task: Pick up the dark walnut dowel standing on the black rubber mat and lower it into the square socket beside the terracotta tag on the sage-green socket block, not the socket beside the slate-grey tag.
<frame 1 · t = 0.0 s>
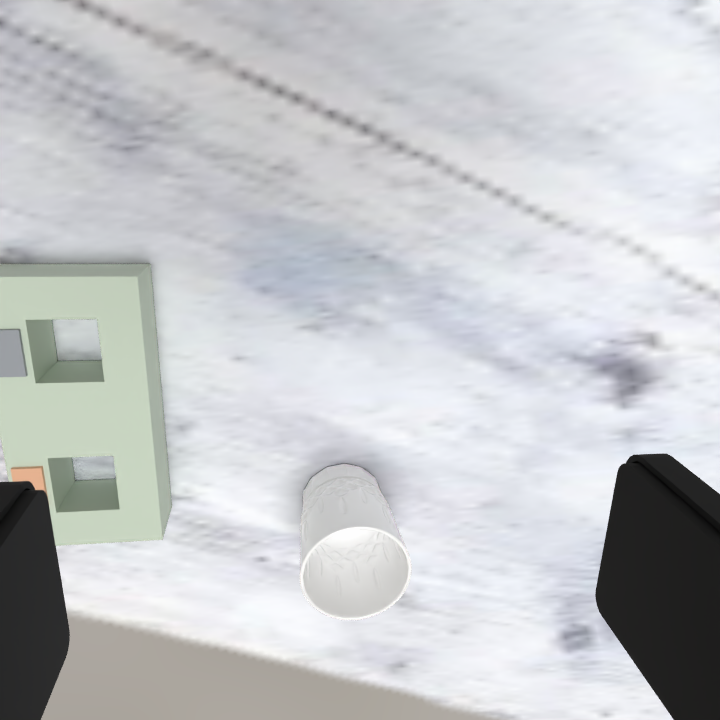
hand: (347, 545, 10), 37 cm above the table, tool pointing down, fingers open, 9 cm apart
socket block: (93, 395, 46), on the table
white cup: (341, 496, 52), on the table
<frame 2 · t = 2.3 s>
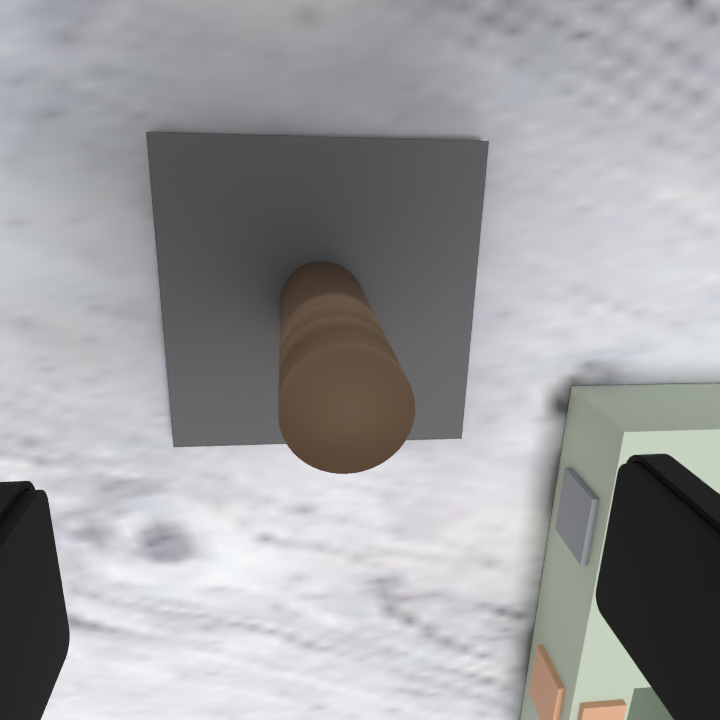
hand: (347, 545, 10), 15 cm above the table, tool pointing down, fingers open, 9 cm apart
dowel: (322, 302, 24), point 1 cm above the table, touching mat
socket block: (637, 567, 31), on the table
mat: (321, 297, 24), on the table
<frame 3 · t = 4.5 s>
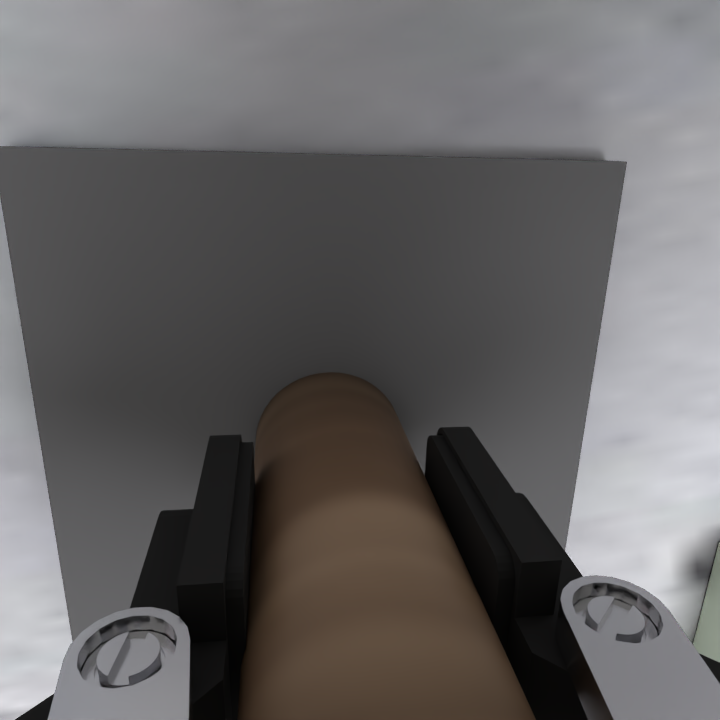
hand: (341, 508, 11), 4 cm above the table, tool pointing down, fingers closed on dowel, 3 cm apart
dowel: (329, 440, 14), point 1 cm above the table, touching gripper, mat
mat: (325, 424, 14), on the table
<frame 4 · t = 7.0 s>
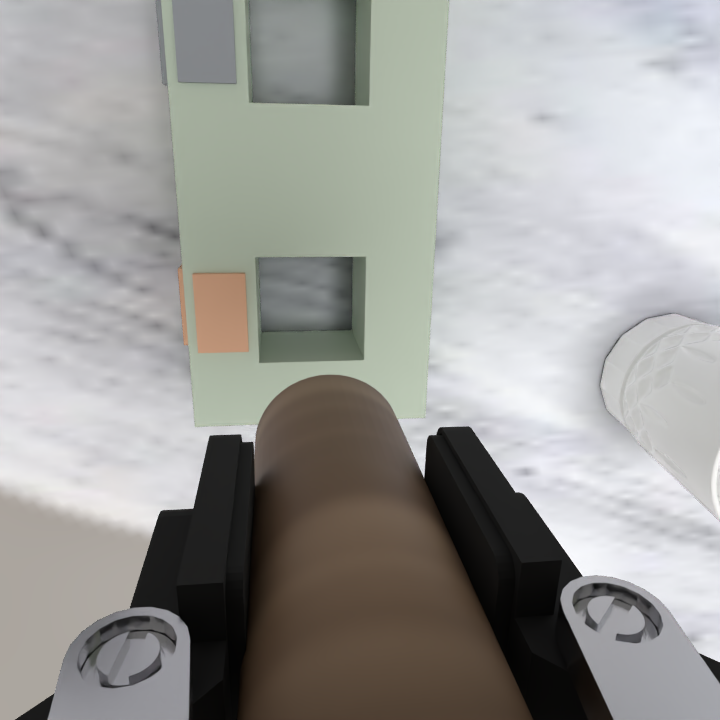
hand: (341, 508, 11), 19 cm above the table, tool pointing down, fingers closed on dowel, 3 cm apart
dowel: (328, 442, 14), point 17 cm above the table, touching gripper
socket block: (305, 177, 28), on the table
white cup: (655, 371, 34), on the table
when the fingers open (5 cm above the table, at t = 10.0 s): dowel drops 3 cm, resting in socket block.
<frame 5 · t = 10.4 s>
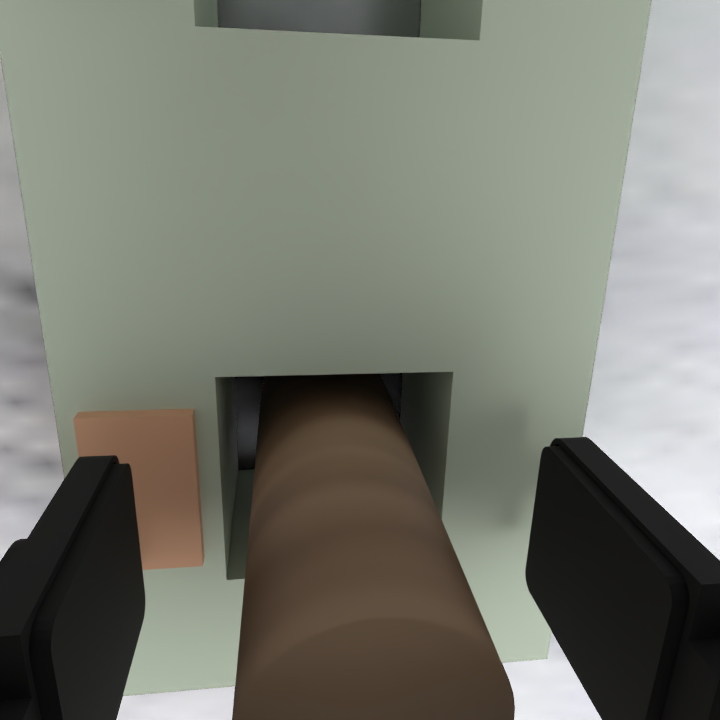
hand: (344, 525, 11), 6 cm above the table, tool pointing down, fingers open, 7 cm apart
dowel: (322, 393, 16), resting in socket block
socket block: (320, 197, 15), on the table
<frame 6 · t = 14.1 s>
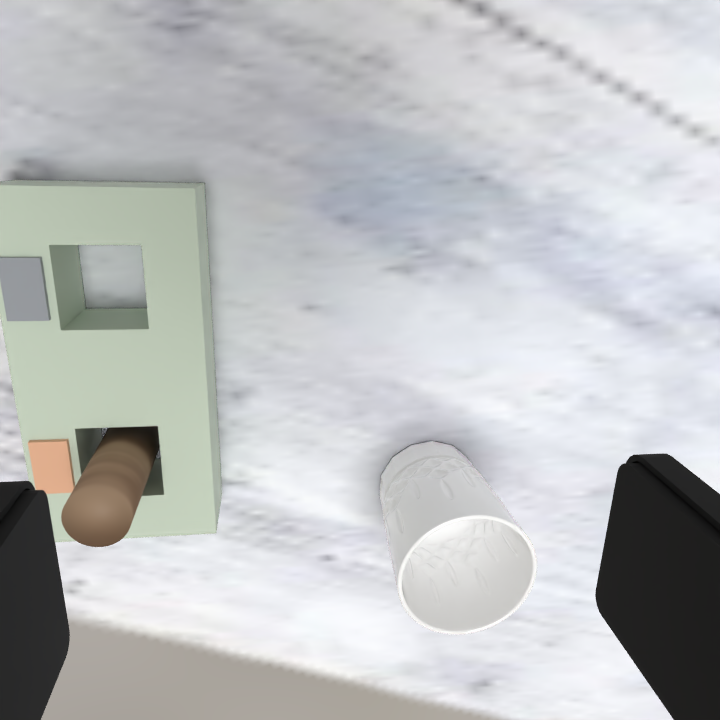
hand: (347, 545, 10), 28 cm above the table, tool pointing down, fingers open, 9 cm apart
dowel: (138, 428, 39), resting in socket block
socket block: (129, 353, 37), on the table
white cup: (425, 482, 43), on the table
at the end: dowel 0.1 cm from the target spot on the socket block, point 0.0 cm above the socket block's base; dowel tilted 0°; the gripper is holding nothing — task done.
